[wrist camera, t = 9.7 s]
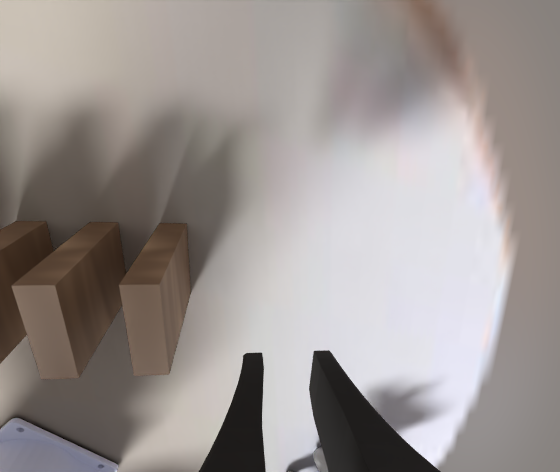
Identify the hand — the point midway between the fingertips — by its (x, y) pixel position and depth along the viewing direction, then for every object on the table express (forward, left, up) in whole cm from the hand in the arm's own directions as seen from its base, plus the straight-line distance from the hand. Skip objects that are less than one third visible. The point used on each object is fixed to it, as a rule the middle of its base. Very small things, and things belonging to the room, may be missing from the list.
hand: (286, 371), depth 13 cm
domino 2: (+7, +7, -10) cm, 14 cm away
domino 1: (+4, +4, -9) cm, 11 cm away
